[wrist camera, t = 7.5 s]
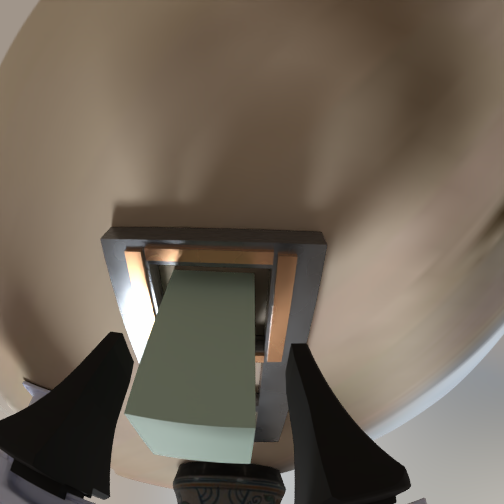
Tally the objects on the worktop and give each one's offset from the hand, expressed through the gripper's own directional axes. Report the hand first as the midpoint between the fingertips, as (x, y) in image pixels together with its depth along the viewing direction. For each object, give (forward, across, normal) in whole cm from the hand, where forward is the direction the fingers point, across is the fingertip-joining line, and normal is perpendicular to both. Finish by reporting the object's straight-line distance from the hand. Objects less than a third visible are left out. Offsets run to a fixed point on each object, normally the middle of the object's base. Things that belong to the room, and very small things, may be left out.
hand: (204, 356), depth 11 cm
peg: (+4, 0, 0) cm, 4 cm away
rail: (+4, 0, +6) cm, 8 cm away
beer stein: (+4, +1, +35) cm, 35 cm away
